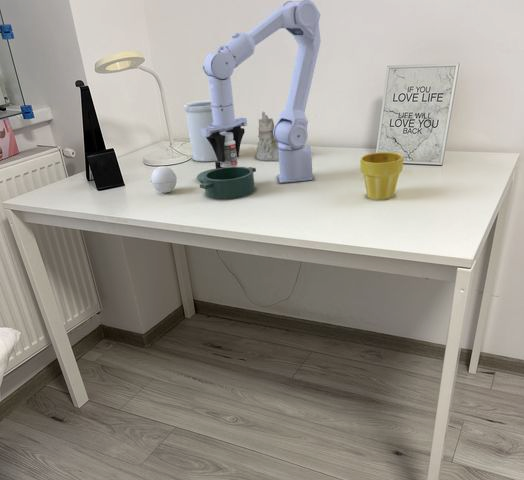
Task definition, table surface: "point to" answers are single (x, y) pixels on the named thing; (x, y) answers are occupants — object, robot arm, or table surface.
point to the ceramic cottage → (267, 140)
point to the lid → (200, 175)
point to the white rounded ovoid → (163, 179)
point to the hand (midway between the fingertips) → (228, 159)
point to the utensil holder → (197, 119)
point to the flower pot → (381, 173)
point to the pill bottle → (229, 151)
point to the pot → (229, 183)
